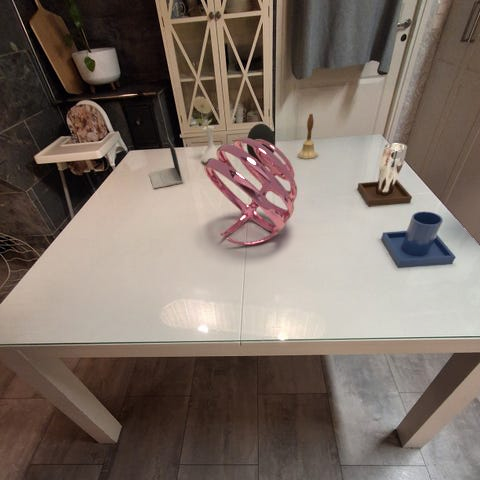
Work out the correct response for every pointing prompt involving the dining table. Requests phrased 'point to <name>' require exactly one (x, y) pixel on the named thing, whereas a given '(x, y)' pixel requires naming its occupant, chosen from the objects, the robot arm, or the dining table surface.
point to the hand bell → (308, 142)
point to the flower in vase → (206, 128)
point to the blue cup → (421, 233)
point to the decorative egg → (260, 133)
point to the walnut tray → (371, 200)
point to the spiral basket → (257, 196)
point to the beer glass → (389, 168)
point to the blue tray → (434, 257)
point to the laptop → (167, 173)
